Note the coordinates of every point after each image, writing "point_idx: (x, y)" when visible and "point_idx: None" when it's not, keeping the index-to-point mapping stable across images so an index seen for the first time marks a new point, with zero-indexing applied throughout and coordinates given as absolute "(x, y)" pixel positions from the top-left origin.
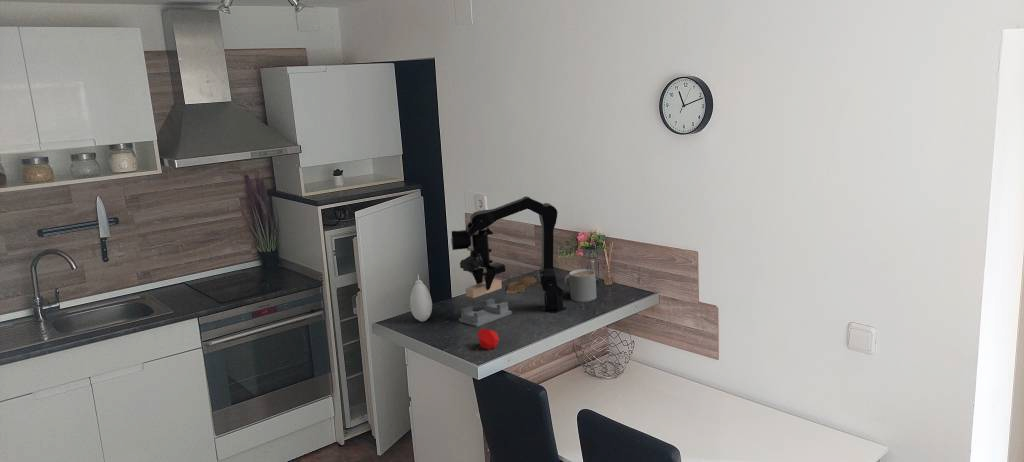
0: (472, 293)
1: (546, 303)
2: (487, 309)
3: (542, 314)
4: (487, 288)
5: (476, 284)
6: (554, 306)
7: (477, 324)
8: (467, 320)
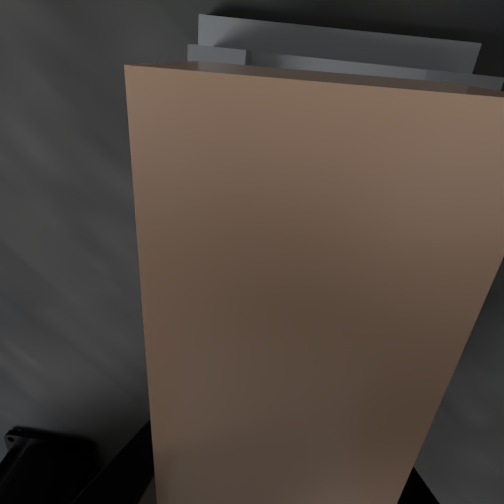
0: (199, 64)
1: (57, 481)
2: None
3: (43, 399)
4: (148, 423)
5: (403, 470)
6: (9, 467)
7: (200, 24)
8: (357, 49)
